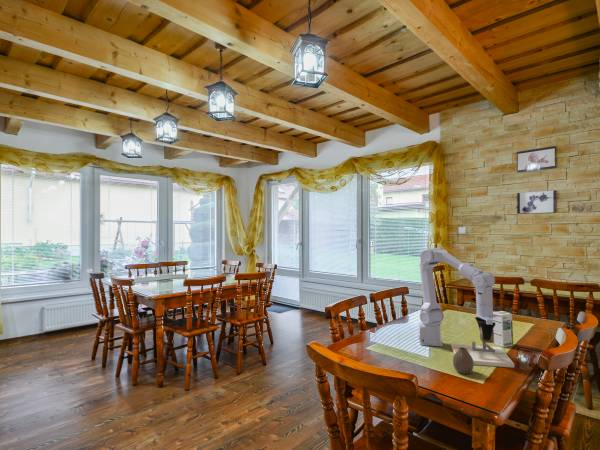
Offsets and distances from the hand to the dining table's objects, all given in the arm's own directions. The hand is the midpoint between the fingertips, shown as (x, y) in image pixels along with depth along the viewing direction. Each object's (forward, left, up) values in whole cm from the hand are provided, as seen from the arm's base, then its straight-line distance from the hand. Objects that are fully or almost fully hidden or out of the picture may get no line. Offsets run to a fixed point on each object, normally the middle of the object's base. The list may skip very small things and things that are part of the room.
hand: (485, 337), depth 135 cm
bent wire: (-1, +4, -8) cm, 9 cm away
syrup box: (+12, +22, -10) cm, 27 cm away
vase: (-10, -12, -10) cm, 19 cm away
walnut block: (+1, 0, -1) cm, 1 cm away
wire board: (-1, +5, -10) cm, 11 cm away
